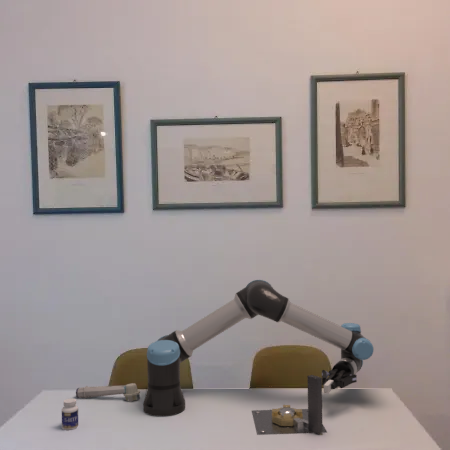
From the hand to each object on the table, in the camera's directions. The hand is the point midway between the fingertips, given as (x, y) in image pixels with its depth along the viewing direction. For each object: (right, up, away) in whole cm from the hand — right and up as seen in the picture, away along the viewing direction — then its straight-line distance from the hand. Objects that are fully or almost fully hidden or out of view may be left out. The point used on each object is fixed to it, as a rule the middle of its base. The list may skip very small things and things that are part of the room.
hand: (325, 389), depth 166 cm
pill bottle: (-85, -13, 0) cm, 86 cm away
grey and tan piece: (-10, -10, -4) cm, 15 cm away
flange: (-13, -11, -1) cm, 17 cm away
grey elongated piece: (-78, -13, +26) cm, 84 cm away
